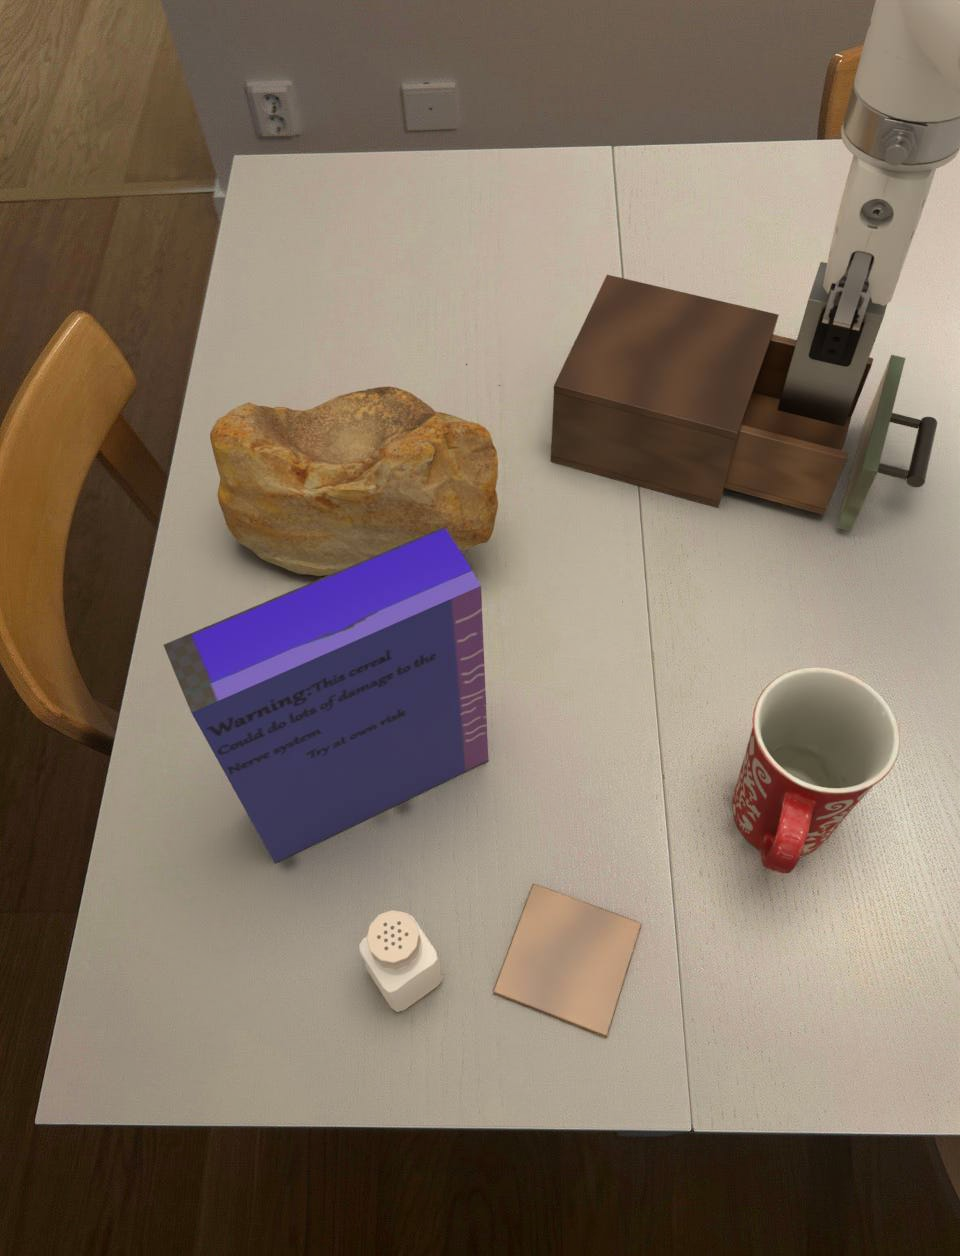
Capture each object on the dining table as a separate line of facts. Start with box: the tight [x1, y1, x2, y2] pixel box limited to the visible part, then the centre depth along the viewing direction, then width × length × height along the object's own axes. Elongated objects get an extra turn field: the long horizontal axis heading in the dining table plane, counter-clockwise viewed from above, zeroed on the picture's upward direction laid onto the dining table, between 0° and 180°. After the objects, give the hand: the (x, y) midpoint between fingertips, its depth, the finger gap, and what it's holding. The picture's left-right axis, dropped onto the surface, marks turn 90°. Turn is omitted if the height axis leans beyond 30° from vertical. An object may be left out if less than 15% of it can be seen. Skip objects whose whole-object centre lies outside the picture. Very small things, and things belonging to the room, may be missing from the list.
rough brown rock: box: [209, 386, 499, 577], centre depth 88 cm, size 23×17×15 cm
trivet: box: [492, 883, 642, 1038], centre depth 73 cm, size 8×8×1 cm
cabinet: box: [550, 274, 780, 509], centre depth 94 cm, size 16×15×10 cm
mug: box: [731, 666, 901, 875], centre depth 72 cm, size 13×9×14 cm
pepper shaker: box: [358, 909, 443, 1013], centre depth 68 cm, size 4×4×10 cm
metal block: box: [777, 261, 888, 426], centre depth 84 cm, size 6×4×12 cm
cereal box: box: [163, 527, 489, 865], centre depth 70 cm, size 17×5×24 cm, turn 117°
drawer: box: [724, 334, 938, 532], centre depth 91 cm, size 19×13×8 cm
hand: (836, 336), depth 83 cm, fingers closed on metal block, 4 cm apart
